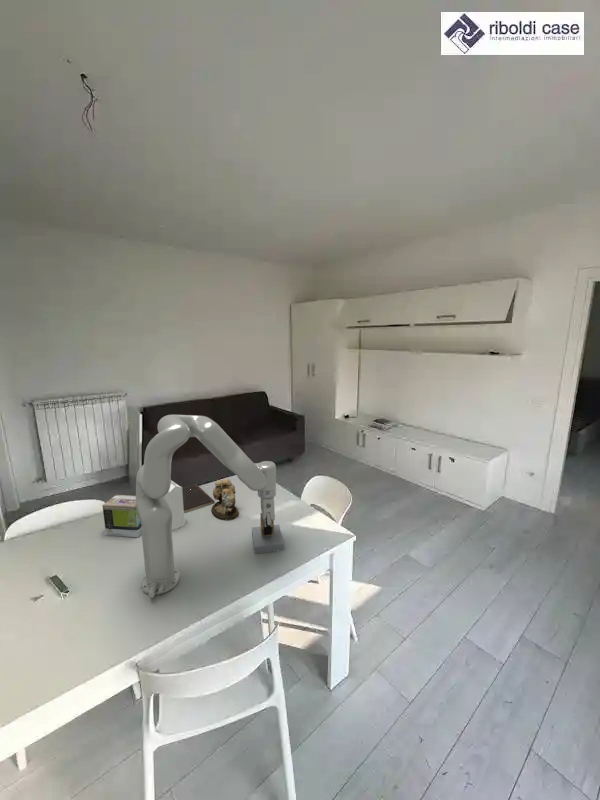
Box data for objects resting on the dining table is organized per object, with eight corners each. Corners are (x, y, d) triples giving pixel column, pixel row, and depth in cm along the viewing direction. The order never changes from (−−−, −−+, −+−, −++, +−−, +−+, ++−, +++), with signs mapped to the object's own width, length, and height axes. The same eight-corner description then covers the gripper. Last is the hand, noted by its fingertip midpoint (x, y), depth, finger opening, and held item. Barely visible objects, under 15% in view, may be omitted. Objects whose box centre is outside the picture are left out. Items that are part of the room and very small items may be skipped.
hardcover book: (184, 514, 165) (184, 510, 165) (168, 496, 183) (168, 492, 182) (214, 504, 175) (214, 500, 175) (197, 487, 193) (197, 484, 192)
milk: (172, 530, 151) (168, 485, 146) (166, 525, 155) (162, 481, 150) (184, 525, 155) (181, 481, 151) (178, 520, 159) (175, 476, 155)
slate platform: (283, 550, 139) (283, 543, 138) (254, 553, 136) (254, 547, 136) (278, 530, 152) (278, 524, 152) (251, 533, 150) (251, 527, 149)
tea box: (150, 525, 155) (147, 495, 152) (137, 538, 145) (134, 507, 142) (119, 522, 156) (116, 493, 153) (105, 535, 147) (101, 504, 144)
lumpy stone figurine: (204, 508, 170) (203, 477, 167) (225, 501, 178) (224, 470, 174) (223, 523, 157) (222, 489, 154) (244, 515, 165) (243, 482, 161)
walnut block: (273, 535, 142) (273, 518, 140) (261, 536, 140) (261, 519, 139) (272, 528, 146) (272, 511, 145) (260, 529, 145) (260, 512, 144)
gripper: (278, 500, 132) (278, 541, 136) (273, 481, 148) (273, 518, 152) (259, 502, 131) (260, 544, 134) (255, 482, 147) (256, 520, 151)
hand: (267, 530), depth 143 cm, fingers closed on walnut block, 5 cm apart
